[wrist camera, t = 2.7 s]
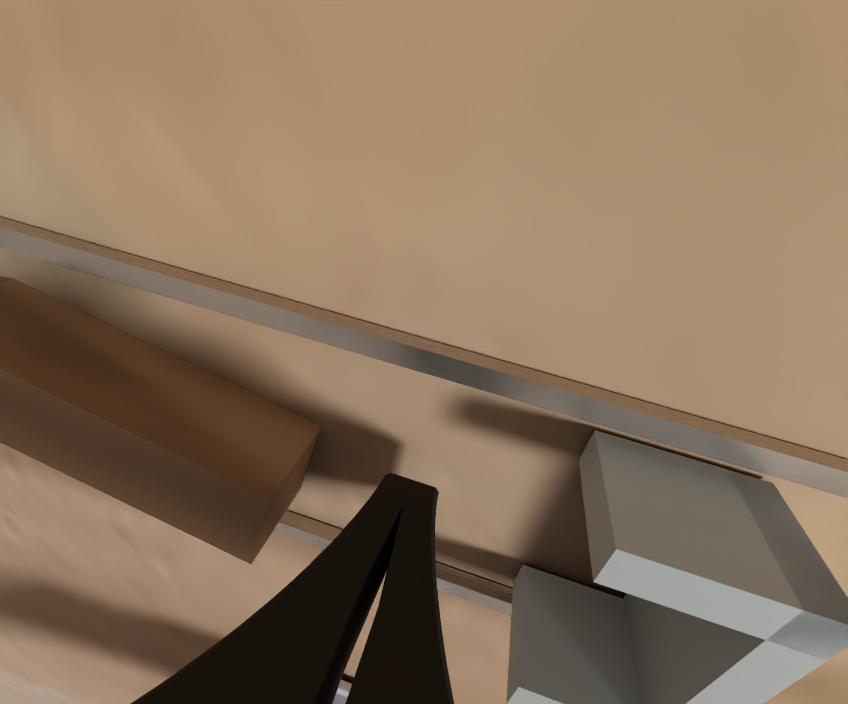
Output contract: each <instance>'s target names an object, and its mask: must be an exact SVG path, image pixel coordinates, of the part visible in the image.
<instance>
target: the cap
mask: <svg viewBox="0 0 848 704" xmlns="http://www.w3.org/2000/svg"><path fill="white" fill-rule="evenodd" d="M579 467H580V475H581V483H582V492H583V500H584V509H585V517H586V526H587V534H588V542H589V551H590V559H591V568H592V576H593V582H595V583H598V584H601V585H604V586H607V587H610V588H613V589H616V590H619V591H622V592H624V593H627V594H626V595H625V596H624V598H623V599H622V598H619V597H617V596H614V595H611V594H608V593H605V592H602V591H599V590H596V589H593V588H590V587H587V586H584V585H581V584H578V583H575V582H572V581H569V580H566V579H564V578H561V577H558V576H555V575H552V574H549V573H546V572H543V571H540V570H537V569H534V568H531V567H528V566H525V565H523V566H522V567H521V569H520V571H519V573H518V575H517V577H516V579H515V581H514V582H513V596H512V614H511V632H510V651H509V669H508V687H507V704H763V703H765V702H766V701H768V700H769V699H771V698H772V697H774V696H775V695H777V694H778V693H779V692H781V691H782V690H784V689H785V688H787V687H788V686H790V685H791V684H793V683H794V682H796V681H797V680H799V679H800V678H802V677H803V676H805V675H806V674H808V673H809V672H811V671H812V670H814V669H815V668H817V667H818V666H820V665H821V664H823V663H824V662H826V661H827V660H829V659H830V658H832V657H833V656H835V655H836V654H838V653H839V652H841V651H842V650H844V649H845V648H847V647H848V598H847V596H846V595H845V593H844V592H843V590H842V588H841V587H840V585H839V584H838V582H837V581H836V579H835V578H834V576H833V575H832V573H831V572H830V570H829V568H828V567H827V565H826V564H825V562H824V561H823V559H822V558H821V556H820V555H819V553H818V551H817V550H816V548H815V547H814V545H813V544H812V542H811V541H810V539H809V538H808V536H807V535H806V533H805V531H804V530H803V528H802V527H801V525H800V524H799V522H798V521H797V519H796V518H795V516H794V515H793V513H792V511H791V510H790V508H789V507H788V505H787V504H786V502H785V501H784V499H783V498H782V496H781V494H780V493H779V491H778V490H777V488H776V487H775V485H774V484H773V483H771V482H768V481H764V480H761V479H758V478H754V477H751V476H748V475H744V474H741V473H737V472H734V471H731V470H727V469H724V468H721V467H717V466H714V465H711V464H707V463H704V462H700V461H697V460H694V459H690V458H687V457H684V456H680V455H677V454H674V453H670V452H667V451H664V450H660V449H657V448H653V447H650V446H647V445H643V444H640V443H637V442H633V441H630V440H627V439H623V438H620V437H616V436H613V435H610V434H606V433H603V432H600V431H596V430H594V432H593V434H592V436H591V438H590V440H589V442H588V444H587V445H586V447H585V449H584V451H583V453H582V455H581V457H580V459H579Z"/></svg>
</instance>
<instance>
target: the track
mask: <svg viewBox="0 0 848 704" xmlns="http://www.w3.org/2000/svg"><path fill="white" fill-rule="evenodd" d="M0 248H4V249H7V250H10V251H14V252H17V253H20V254H24V255H27V256H31V257H34V258H37V259H41V260H44V261H47V262H51V263H54V264H58V265H61V266H64V267H68V268H71V269H75V270H78V271H81V272H85V273H88V274H91V275H95V276H98V277H102V278H105V279H108V280H112V281H115V282H118V283H122V284H125V285H129V286H132V287H135V288H139V289H142V290H146V291H149V292H152V293H156V294H159V295H162V296H166V297H169V298H173V299H176V300H179V301H183V302H186V303H189V304H193V305H196V306H200V307H203V308H206V309H210V310H213V311H217V312H220V313H223V314H227V315H230V316H233V317H237V318H240V319H244V320H247V321H250V322H254V323H257V324H260V325H264V326H267V327H271V328H274V329H277V330H281V331H284V332H288V333H291V334H294V335H298V336H301V337H304V338H308V339H311V340H315V341H318V342H321V343H325V344H328V345H331V346H335V347H338V348H342V349H345V350H348V351H352V352H355V353H359V354H362V355H365V356H369V357H372V358H375V359H379V360H382V361H386V362H389V363H392V364H396V365H399V366H402V367H406V368H409V369H413V370H416V371H419V372H423V373H426V374H430V375H433V376H436V377H440V378H443V379H446V380H450V381H453V382H457V383H460V384H463V385H467V386H470V387H473V388H477V389H480V390H484V391H487V392H490V393H494V394H497V395H501V396H504V397H507V398H511V399H514V400H517V401H521V402H524V403H528V404H531V405H534V406H538V407H541V408H544V409H548V410H551V411H555V412H558V413H561V414H565V415H568V416H572V417H575V418H578V419H582V420H585V421H588V422H592V423H595V424H599V425H602V426H605V427H609V428H612V429H615V430H619V431H622V432H626V433H629V434H632V435H636V436H639V437H643V438H646V439H649V440H653V441H656V442H659V443H663V444H666V445H670V446H673V447H676V448H680V449H683V450H687V451H690V452H693V453H697V454H700V455H703V456H707V457H710V458H714V459H717V460H720V461H724V462H727V463H730V464H734V465H737V466H741V467H744V468H747V469H751V470H754V471H758V472H761V473H764V474H768V475H771V476H774V477H778V478H781V479H785V480H788V481H791V482H795V483H798V484H801V485H805V486H808V487H812V488H815V489H818V490H822V491H825V492H829V493H832V494H835V495H839V496H842V497H845V498H846V497H847V496H848V460H847V459H844V458H840V457H837V456H833V455H830V454H826V453H823V452H819V451H816V450H812V449H809V448H805V447H802V446H798V445H795V444H791V443H788V442H784V441H781V440H777V439H774V438H770V437H767V436H763V435H760V434H756V433H753V432H749V431H746V430H742V429H739V428H735V427H732V426H728V425H725V424H721V423H718V422H714V421H711V420H707V419H704V418H700V417H697V416H693V415H690V414H686V413H683V412H679V411H676V410H672V409H669V408H665V407H662V406H658V405H655V404H651V403H648V402H644V401H641V400H637V399H634V398H630V397H627V396H623V395H620V394H616V393H613V392H610V391H606V390H603V389H599V388H596V387H592V386H589V385H585V384H582V383H578V382H575V381H571V380H568V379H564V378H561V377H557V376H554V375H550V374H547V373H543V372H540V371H536V370H533V369H529V368H526V367H522V366H519V365H515V364H512V363H508V362H505V361H501V360H498V359H494V358H491V357H487V356H484V355H480V354H477V353H473V352H470V351H466V350H463V349H459V348H456V347H452V346H449V345H445V344H442V343H438V342H435V341H431V340H428V339H424V338H421V337H417V336H414V335H410V334H407V333H403V332H400V331H396V330H393V329H389V328H386V327H382V326H379V325H375V324H372V323H368V322H365V321H361V320H358V319H354V318H351V317H347V316H344V315H340V314H337V313H334V312H330V311H327V310H323V309H320V308H316V307H313V306H309V305H306V304H302V303H299V302H295V301H292V300H288V299H285V298H281V297H278V296H274V295H271V294H267V293H264V292H260V291H257V290H253V289H250V288H246V287H243V286H239V285H236V284H232V283H229V282H225V281H222V280H218V279H215V278H211V277H208V276H204V275H201V274H197V273H194V272H190V271H187V270H183V269H180V268H176V267H173V266H169V265H166V264H162V263H159V262H155V261H152V260H148V259H145V258H141V257H138V256H134V255H131V254H127V253H124V252H120V251H117V250H113V249H110V248H106V247H103V246H99V245H96V244H92V243H89V242H85V241H82V240H78V239H75V238H71V237H68V236H65V235H61V234H58V233H54V232H51V231H47V230H44V229H40V228H37V227H33V226H30V225H26V224H23V223H19V222H16V221H12V220H9V219H5V218H2V217H0ZM341 531H342V530H341V529H338V528H336V527H333V526H330V525H327V524H324V523H321V522H318V521H315V520H313V519H310V518H307V517H304V516H301V515H298V514H295V513H292V512H289V511H287V510H286V512H285V513H284V515H283V516H282V518H281V519H280V521H279V522H278V524H277V525H276V527H275V529H274V530H273V532H276V533H279V534H282V535H284V536H287V537H290V538H293V539H296V540H299V541H301V542H304V543H307V544H310V545H313V546H316V547H318V548H321V549H325V548H326V547H327V546H328V545H329V544H330V543H331V542H332V541H333V540H334V539H335V538H336V537H337V536H338V535H339V534H340V533H341ZM386 572H387V571H386ZM436 579H437V590H440V591H443V592H445V593H448V594H451V595H454V596H457V597H459V598H462V599H465V600H468V601H471V602H474V603H476V604H479V605H482V606H485V607H488V608H491V609H493V610H496V611H499V612H502V613H505V614H507V615H510V616H511V614H512V596H513V589H511V588H509V587H506V586H503V585H500V584H497V583H494V582H491V581H488V580H486V579H483V578H480V577H477V576H474V575H471V574H468V573H465V572H462V571H460V570H457V569H454V568H451V567H448V566H445V565H442V564H439V563H437V562H436Z"/></svg>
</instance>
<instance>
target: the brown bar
mask: <svg viewBox="0 0 848 704" xmlns="http://www.w3.org/2000/svg"><path fill="white" fill-rule="evenodd" d="M321 427H322V426H320V425H318V424H315V423H313V422H311V421H309V420H307V419H305V418H303V417H301V416H299V415H297V414H295V413H293V412H290V411H288V410H286V409H284V408H282V407H280V406H278V405H276V404H274V403H272V402H270V401H268V400H265V399H263V398H261V397H259V396H257V395H255V394H253V393H251V392H249V391H247V390H245V389H243V388H240V387H238V386H236V385H234V384H232V383H230V382H228V381H226V380H224V379H222V378H220V377H218V376H215V375H213V374H211V373H209V372H207V371H205V370H203V369H201V368H199V367H197V366H195V365H192V364H190V363H188V362H186V361H184V360H182V359H180V358H178V357H176V356H174V355H172V354H170V353H167V352H165V351H163V350H161V349H159V348H157V347H155V346H153V345H151V344H149V343H147V342H145V341H142V340H140V339H138V338H136V337H134V336H132V335H130V334H128V333H126V332H124V331H122V330H120V329H117V328H115V327H113V326H111V325H109V324H107V323H105V322H103V321H101V320H99V319H97V318H95V317H92V316H90V315H88V314H86V313H84V312H82V311H80V310H78V309H76V308H74V307H72V306H70V305H67V304H65V303H63V302H61V301H59V300H57V299H55V298H53V297H51V296H49V295H47V294H45V293H42V292H40V291H38V290H36V289H34V288H32V287H30V286H28V285H26V284H24V283H22V282H20V281H17V280H15V279H10V280H7V281H3V282H0V442H1V443H3V444H5V445H7V446H9V447H11V448H13V449H15V450H17V451H19V452H21V453H23V454H25V455H27V456H29V457H32V458H34V459H36V460H38V461H40V462H42V463H44V464H46V465H48V466H50V467H52V468H54V469H56V470H58V471H60V472H62V473H64V474H67V475H69V476H71V477H73V478H75V479H77V480H79V481H81V482H83V483H85V484H87V485H89V486H91V487H93V488H95V489H97V490H99V491H102V492H104V493H106V494H108V495H110V496H112V497H114V498H116V499H118V500H120V501H122V502H124V503H126V504H128V505H130V506H132V507H134V508H137V509H139V510H141V511H143V512H145V513H147V514H149V515H151V516H153V517H155V518H157V519H159V520H161V521H163V522H165V523H167V524H169V525H172V526H174V527H176V528H178V529H180V530H182V531H184V532H186V533H188V534H190V535H192V536H194V537H196V538H198V539H200V540H202V541H204V542H206V543H209V544H211V545H213V546H215V547H217V548H219V549H221V550H223V551H225V552H227V553H229V554H231V555H233V556H235V557H237V558H239V559H241V560H244V561H246V562H248V563H250V564H252V562H253V561H254V559H255V558H256V556H257V555H258V553H259V552H260V550H261V548H262V547H263V545H264V544H265V542H266V541H267V539H268V538H269V536H270V535H271V533H272V532H273V530H274V529H275V527H276V525H277V524H278V522H279V521H280V519H281V518H282V516H283V515H284V513H285V512H286V510H287V509H288V507H289V505H290V504H291V502H292V501H293V499H294V498H295V496H296V495H297V493H298V492H299V490H300V489H301V486H302V483H303V480H304V477H305V474H306V471H307V468H308V465H309V462H310V459H311V456H312V454H313V451H314V448H315V445H316V442H317V439H318V436H319V433H320V430H321Z"/></svg>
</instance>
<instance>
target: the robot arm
mask: <svg viewBox="0 0 848 704" xmlns="http://www.w3.org/2000/svg"><path fill="white" fill-rule="evenodd" d="M438 493H439V492H438V490H437V489H436V488H435V487H432V486H429V485H426V484H423V483H420V482H417V481H414V480H411V479H408V478H405V477H402V476H399V475H396V474H393V473H389V474H386V475H385V477H384V478H383V480H382V481H381V483H380V484H379V486H378V487H377V489H376V490H375V492H374V493H373V494H372V496H371V497H370V498H369V500H368V501H367V502H366V503H365V505H364V506H363V507H362V508H361V510H360V511H359V512H358V513H357V514H356V516H355V517H354V518H353V519H352V520H351V521H350V522H349V523H348V525H347V526H346V527H345V528H344V529H343V530H342V531H341V533H340V534H339V535H338V536H337V537H336V538H335V539H334V540H333V541H332V542H331V543H330V544H329V545H328V546H327V547H326V548H325V549H324V550H323V551H322V552H321V553H320V554H319V555H318V556H317V557H316V558H315V559H314V560H313V561H312V563H311V564H310V565H309V566H307V567H306V568H305V569H304V570H303V571H302V572H301V573H300V574H299V575H298V576H297V577H296V578H295V579H294V580H293V581H292V582H290V583H289V584H288V585H287V586H286V587H285V588H284V589H283V590H281V591H280V592H279V593H278V594H277V595H276V596H275V597H274V598H272V599H271V600H270V601H269V602H268V603H267V604H265V605H264V606H263V607H262V608H260V609H259V610H258V611H257V612H256V613H254V614H253V615H252V616H251V617H250V618H248V619H247V620H246V621H245V622H244V623H242V624H241V625H240V626H239V627H237V628H236V629H235V630H233V631H232V632H231V633H230V634H228V635H227V636H226V637H224V638H223V639H222V640H221V641H219V642H218V643H217V644H215V645H214V646H212V647H211V648H210V649H208V650H207V651H206V652H204V653H203V654H201V655H200V656H199V657H197V658H196V659H195V660H193V661H192V662H191V663H189V664H188V665H186V666H185V667H184V668H182V669H181V670H180V671H178V672H177V673H176V674H174V675H173V676H171V677H170V678H168V679H167V680H165V681H164V682H163V683H161V684H160V685H158V686H157V687H155V688H154V689H152V690H151V691H149V692H148V693H146V694H145V695H143V696H142V697H140V698H139V699H137V700H136V701H134V702H133V703H131V704H454V701H453V696H452V690H451V685H450V679H449V674H448V668H447V662H446V656H445V649H444V643H443V636H442V628H441V620H440V611H439V602H438V592H437V579H436V560H435V517H436V506H437V498H438ZM386 571H387V573H386ZM385 573H386V577H385V581H384V585H383V590H382V594H381V598H380V602H379V606H378V610H377V612H376V615H375V618H374V621H373V624H372V627H371V630H370V633H369V636H368V639H367V642H366V645H365V648H364V651H363V654H362V657H361V659H360V662H359V665H358V668H357V671H356V674H355V677H354V680H353V683H349V682H347V681H344V680H341V678H342V676H343V673H344V670H345V668H346V665H347V663H348V660H349V658H350V655H351V653H352V651H353V648H354V646H355V644H356V641H357V639H358V637H359V634H360V632H361V630H362V627H363V625H364V623H365V620H366V618H367V616H368V613H369V611H370V609H371V606H372V604H373V602H374V599H375V597H376V595H377V592H378V590H379V587H380V585H381V583H382V580H383V578H384V576H385Z"/></svg>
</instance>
